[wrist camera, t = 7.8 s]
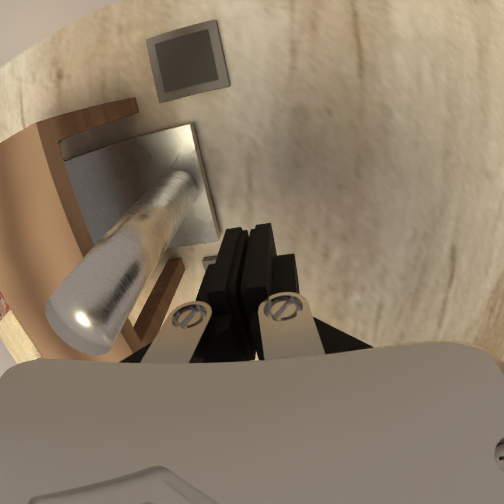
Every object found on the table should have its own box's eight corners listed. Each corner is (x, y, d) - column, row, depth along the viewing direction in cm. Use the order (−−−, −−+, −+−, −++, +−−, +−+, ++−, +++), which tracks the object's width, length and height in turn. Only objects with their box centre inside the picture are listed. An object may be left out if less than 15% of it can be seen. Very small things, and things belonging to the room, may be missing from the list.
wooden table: (216, 21, 17) (161, -27, 7) (271, 298, 28) (266, 406, 19) (-36, 141, 22) (-110, 180, 12) (36, 312, 33) (-9, 375, 23)
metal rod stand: (193, 122, 21) (63, 204, 8) (220, 235, 25) (166, 403, 12) (-10, 193, 24) (-110, 270, 11) (20, 265, 29) (-59, 357, 16)
